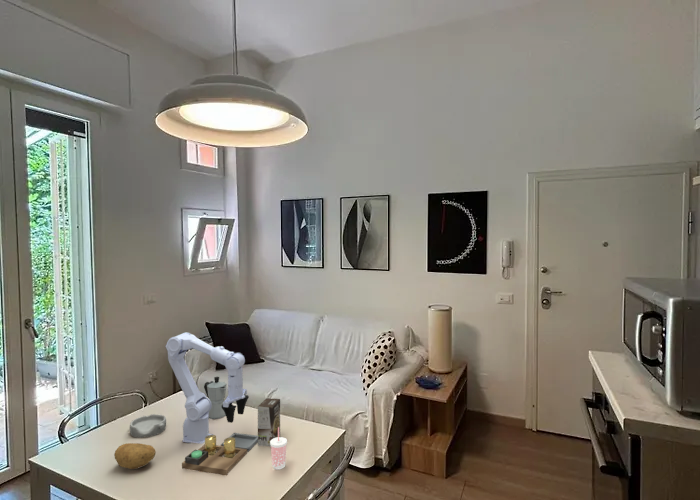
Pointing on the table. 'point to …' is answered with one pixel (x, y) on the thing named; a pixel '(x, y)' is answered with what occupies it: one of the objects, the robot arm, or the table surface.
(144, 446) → the potato
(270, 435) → the coffee box
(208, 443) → the seated billet
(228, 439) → the cylinder
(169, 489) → the table surface
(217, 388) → the coffee maker
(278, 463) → the beverage cup
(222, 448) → the pallet board
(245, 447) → the tote
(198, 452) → the button
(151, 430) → the dish
